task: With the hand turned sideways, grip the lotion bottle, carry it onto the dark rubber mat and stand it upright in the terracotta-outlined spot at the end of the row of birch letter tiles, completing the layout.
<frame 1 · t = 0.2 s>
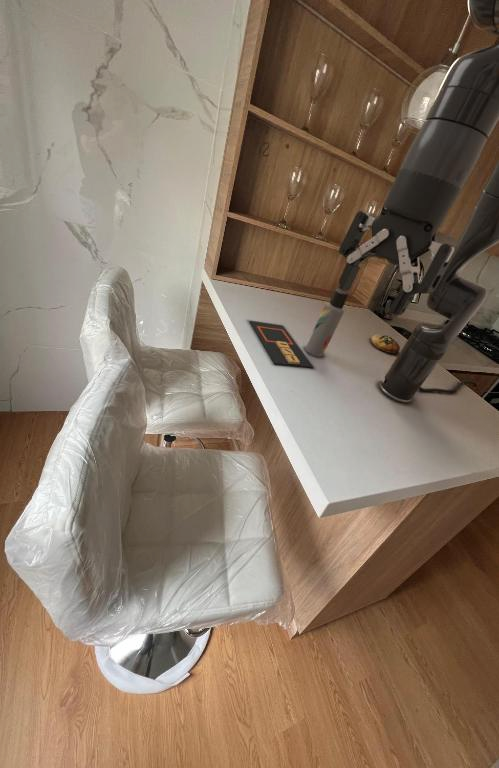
hand: (366, 302, 48), 29 cm above the countertop, tool pointing down, fingers open, 8 cm apart
mat: (278, 343, 98), on the countertop
lotion bottle: (313, 352, 100), on the countertop
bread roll: (382, 347, 122), on the countertop
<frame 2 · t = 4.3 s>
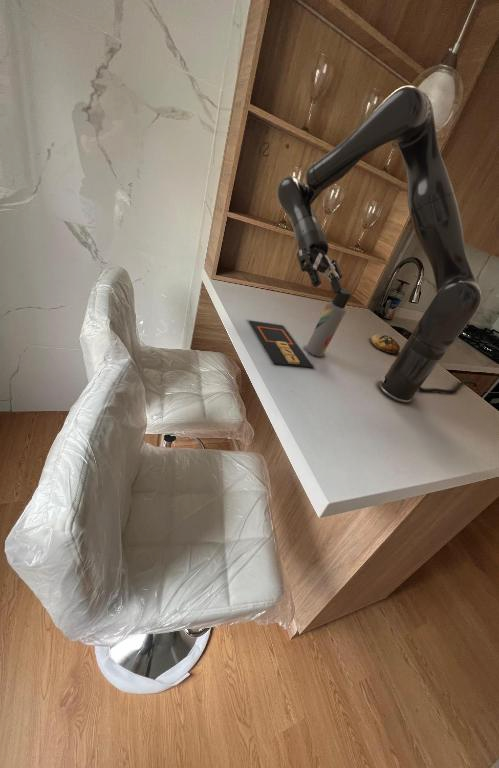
hand: (328, 288, 85), 20 cm above the countertop, tool tilted 60°, fingers open, 8 cm apart
nothing on the countertop moved.
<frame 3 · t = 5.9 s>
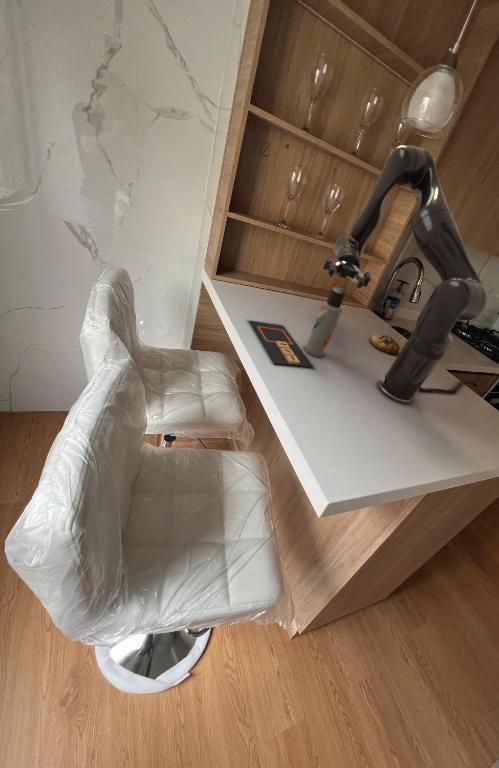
hand: (346, 279, 94), 22 cm above the countertop, tool horizontal, fingers open, 8 cm apart
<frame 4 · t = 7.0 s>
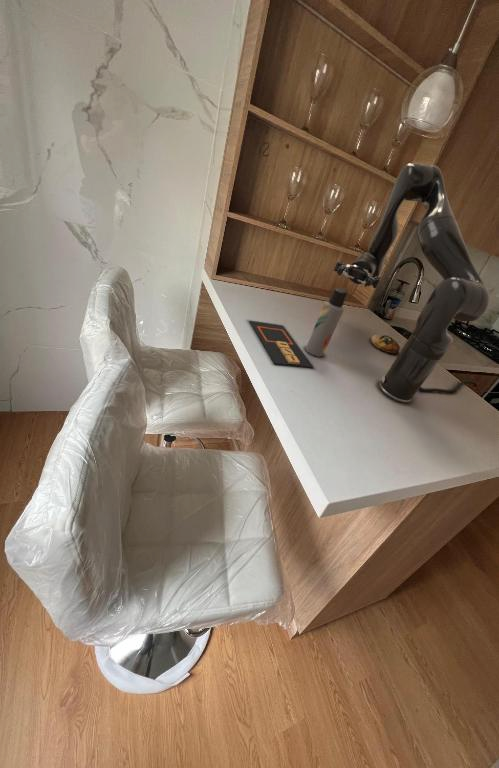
hand: (353, 277, 97), 22 cm above the countertop, tool horizontal, fingers open, 8 cm apart
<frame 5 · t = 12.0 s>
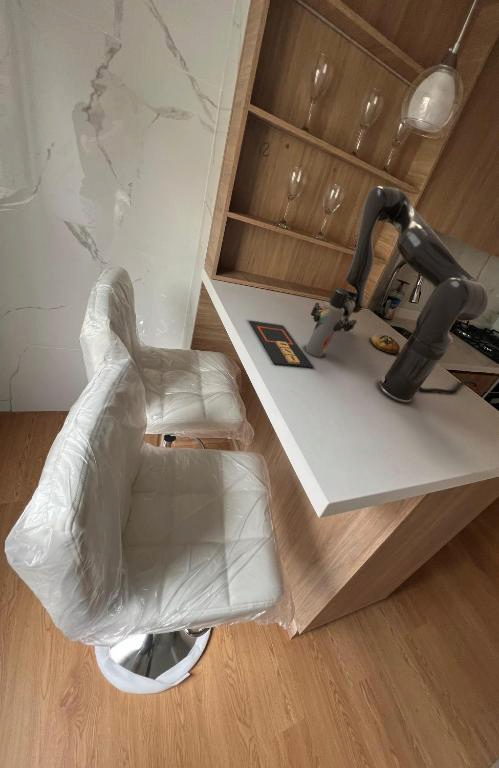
hand: (326, 323, 92), 11 cm above the countertop, tool horizontal, fingers closed on lotion bottle, 5 cm apart
lotion bottle: (313, 352, 100), on the countertop, touching gripper
everything else where it was.
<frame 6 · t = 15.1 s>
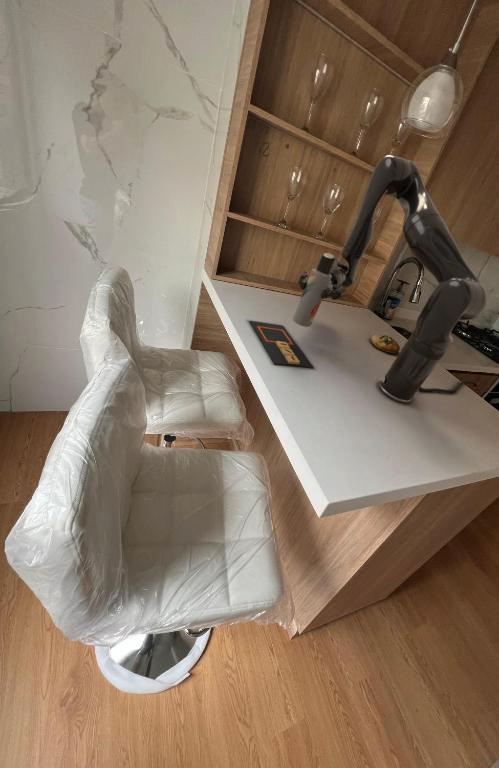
hand: (313, 290, 89), 18 cm above the countertop, tool horizontal, fingers closed on lotion bottle, 5 cm apart
lotion bottle: (301, 323, 97), point 7 cm above the countertop, touching gripper
everything else where it was.
when the fingers open (11 cm above the countertop, at t = 18.4 s): lotion bottle stays where it is, resting on mat.
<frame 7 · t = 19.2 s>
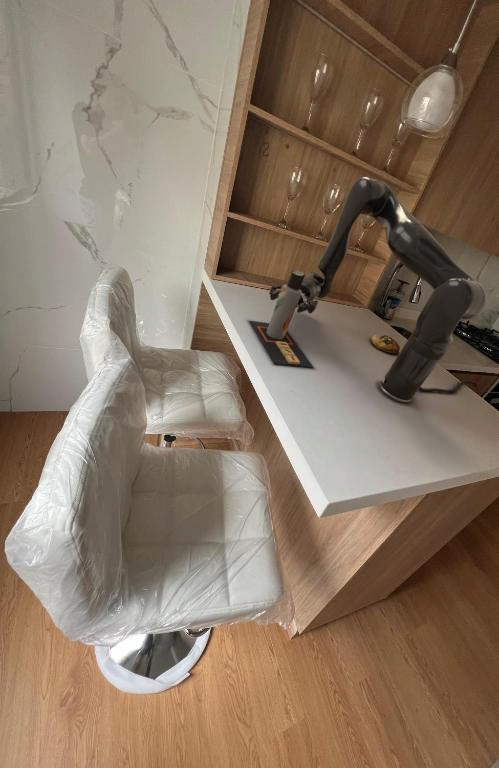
hand: (285, 302, 93), 12 cm above the countertop, tool horizontal, fingers open, 8 cm apart
lotion bottle: (274, 335, 101), resting on mat
everything else where it was.
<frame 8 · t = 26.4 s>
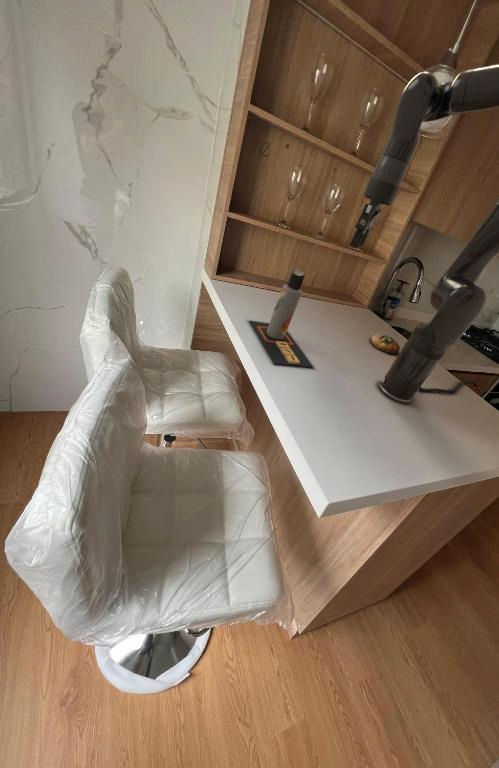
hand: (355, 246, 91), 30 cm above the countertop, tool pointing down, fingers open, 8 cm apart
nothing on the countertop moved.
at the end: lotion bottle 0.1 cm from the target spot, resting on mat; lotion bottle tilted 0°; the gripper is holding nothing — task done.
